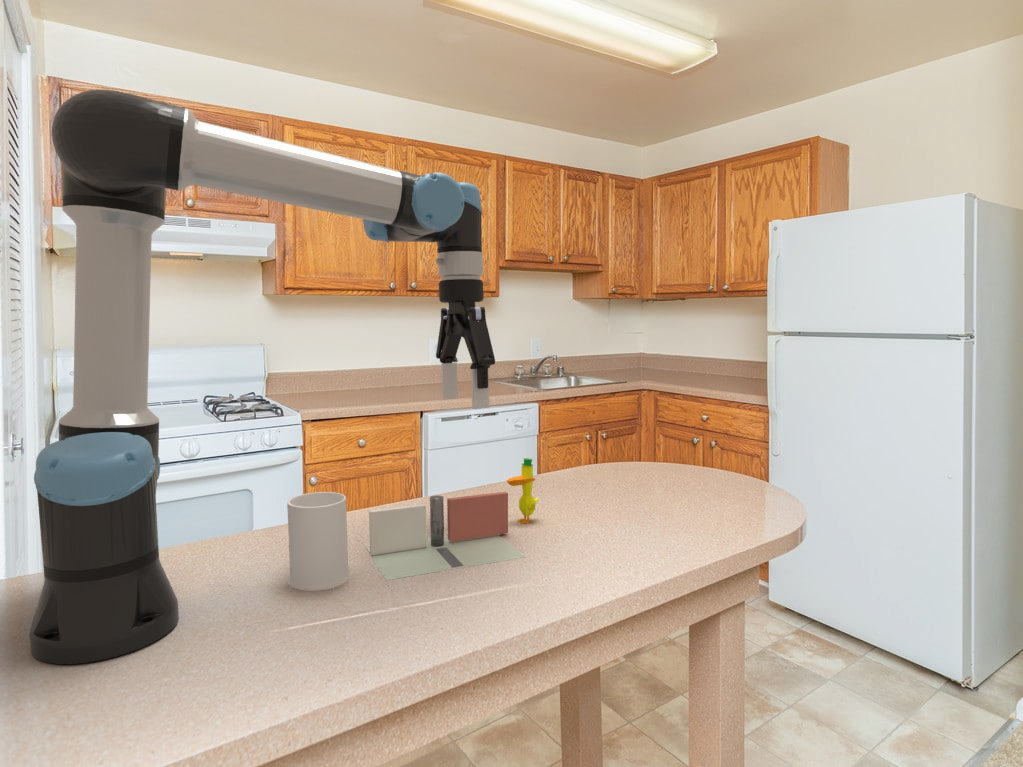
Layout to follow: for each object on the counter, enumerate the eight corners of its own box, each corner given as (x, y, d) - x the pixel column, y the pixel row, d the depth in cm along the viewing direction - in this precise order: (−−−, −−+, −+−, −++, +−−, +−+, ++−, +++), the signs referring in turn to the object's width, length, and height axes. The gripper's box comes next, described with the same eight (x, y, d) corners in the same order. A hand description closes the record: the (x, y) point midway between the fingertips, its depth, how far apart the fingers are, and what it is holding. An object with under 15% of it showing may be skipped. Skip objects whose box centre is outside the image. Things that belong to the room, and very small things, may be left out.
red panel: (450, 541, 107) (449, 500, 106) (447, 539, 108) (447, 498, 107) (508, 532, 111) (508, 493, 111) (505, 530, 112) (505, 491, 112)
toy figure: (513, 529, 115) (512, 463, 114) (502, 523, 118) (502, 459, 117) (544, 522, 119) (544, 458, 118) (533, 517, 122) (533, 455, 121)
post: (432, 547, 105) (432, 499, 105) (429, 543, 107) (428, 496, 107) (445, 545, 106) (445, 498, 105) (441, 541, 108) (441, 494, 107)
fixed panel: (371, 555, 102) (370, 512, 101) (369, 553, 103) (368, 510, 102) (426, 547, 106) (425, 505, 105) (424, 545, 107) (423, 503, 106)
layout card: (386, 582, 92) (386, 579, 92) (365, 548, 106) (365, 546, 106) (525, 558, 101) (525, 556, 101) (490, 530, 115) (490, 528, 115)
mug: (273, 571, 97) (270, 492, 95) (328, 558, 102) (326, 483, 101) (300, 598, 87) (297, 511, 86) (359, 582, 93) (357, 500, 91)
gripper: (415, 282, 119) (420, 397, 121) (469, 274, 96) (473, 414, 99) (454, 282, 122) (457, 393, 124) (514, 274, 100) (517, 410, 102)
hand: (464, 403), depth 112 cm, fingers open, 13 cm apart
